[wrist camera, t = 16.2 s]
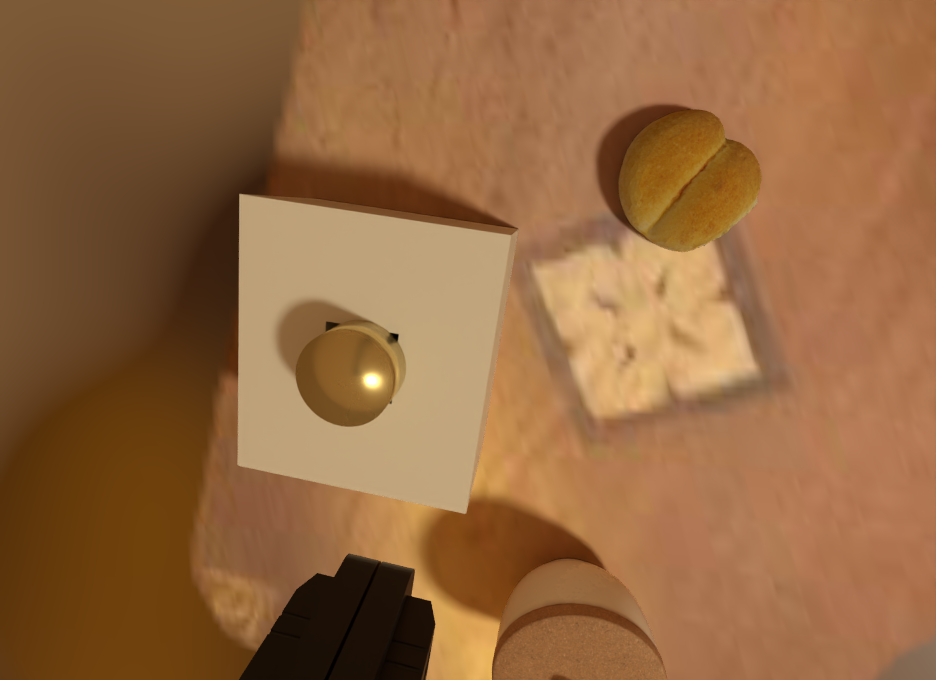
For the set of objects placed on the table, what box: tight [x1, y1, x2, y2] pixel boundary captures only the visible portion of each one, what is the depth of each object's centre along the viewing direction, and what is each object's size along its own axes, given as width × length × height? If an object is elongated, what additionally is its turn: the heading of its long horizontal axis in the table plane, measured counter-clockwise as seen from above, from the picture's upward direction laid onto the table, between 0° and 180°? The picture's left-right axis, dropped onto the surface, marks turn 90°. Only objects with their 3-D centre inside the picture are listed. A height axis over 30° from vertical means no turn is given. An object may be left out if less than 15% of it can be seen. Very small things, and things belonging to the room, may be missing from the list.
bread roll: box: [618, 110, 761, 252], centre depth 32 cm, size 8×9×4 cm
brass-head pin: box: [296, 320, 406, 427], centre depth 32 cm, size 6×6×12 cm
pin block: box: [238, 194, 519, 514], centre depth 34 cm, size 18×16×10 cm
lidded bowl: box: [492, 558, 668, 680], centre depth 38 cm, size 13×13×11 cm
